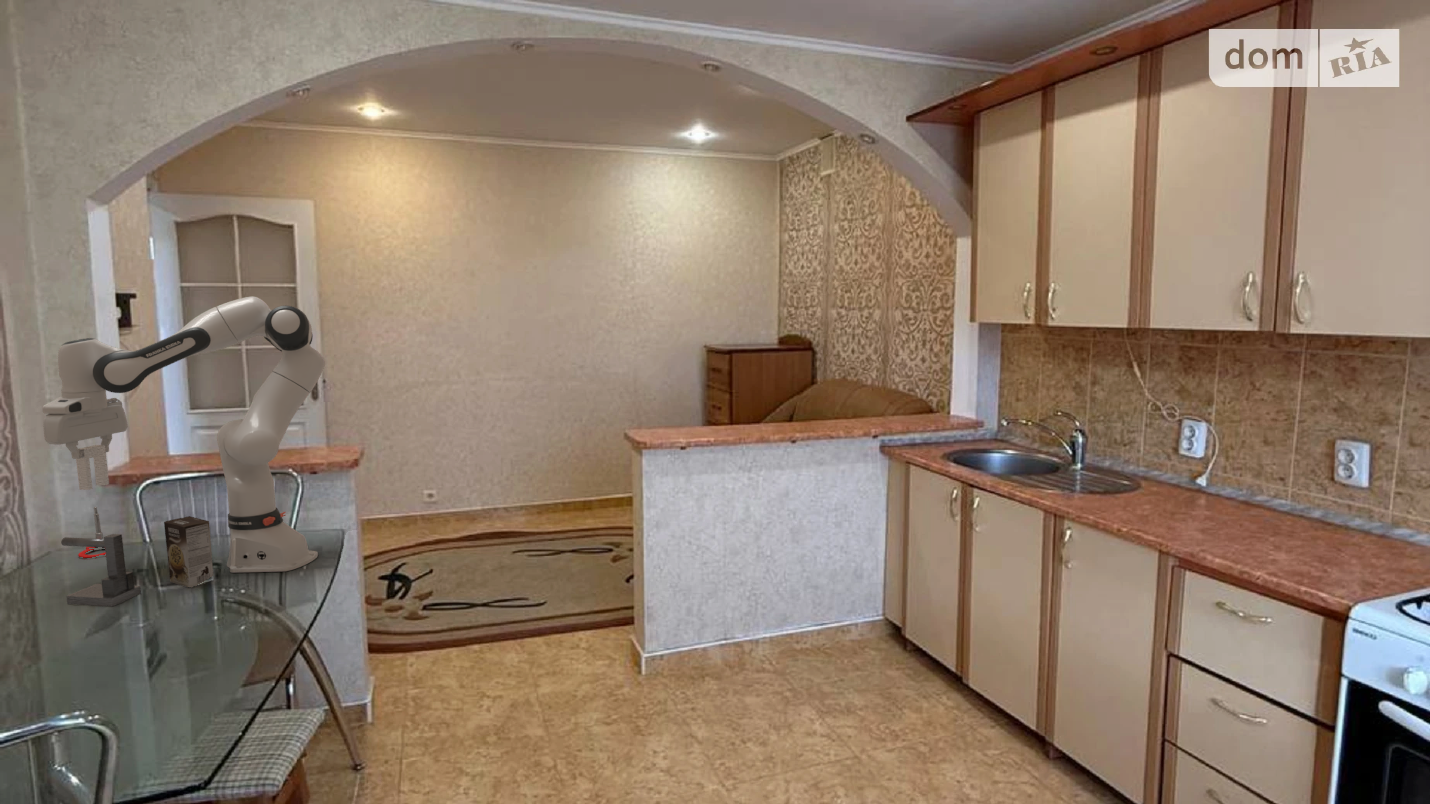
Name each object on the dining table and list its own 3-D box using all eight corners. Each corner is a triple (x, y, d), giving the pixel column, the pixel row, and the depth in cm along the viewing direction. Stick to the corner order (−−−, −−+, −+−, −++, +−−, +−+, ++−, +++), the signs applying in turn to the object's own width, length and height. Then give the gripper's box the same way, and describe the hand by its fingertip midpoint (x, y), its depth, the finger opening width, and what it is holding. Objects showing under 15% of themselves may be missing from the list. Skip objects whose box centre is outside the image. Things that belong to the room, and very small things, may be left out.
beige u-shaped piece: (109, 484, 203) (104, 445, 202) (88, 489, 198) (83, 449, 196) (100, 483, 204) (96, 444, 202) (79, 489, 198) (74, 449, 196)
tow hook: (113, 557, 218) (119, 546, 226) (107, 514, 215) (114, 504, 223) (75, 562, 214) (83, 551, 222) (68, 518, 211) (77, 508, 219)
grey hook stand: (141, 593, 191) (134, 530, 188) (112, 606, 183) (105, 541, 181) (86, 590, 192) (79, 528, 190) (56, 603, 185) (48, 538, 182)
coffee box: (168, 582, 198) (162, 521, 196) (195, 574, 204) (189, 515, 202) (188, 588, 194) (182, 526, 192) (215, 580, 200) (209, 519, 197)
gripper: (110, 396, 208) (115, 447, 210) (35, 407, 188) (42, 463, 190) (131, 397, 207) (136, 447, 209) (58, 408, 187) (65, 464, 189)
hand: (91, 455), depth 199 cm, fingers closed on beige u-shaped piece, 6 cm apart
